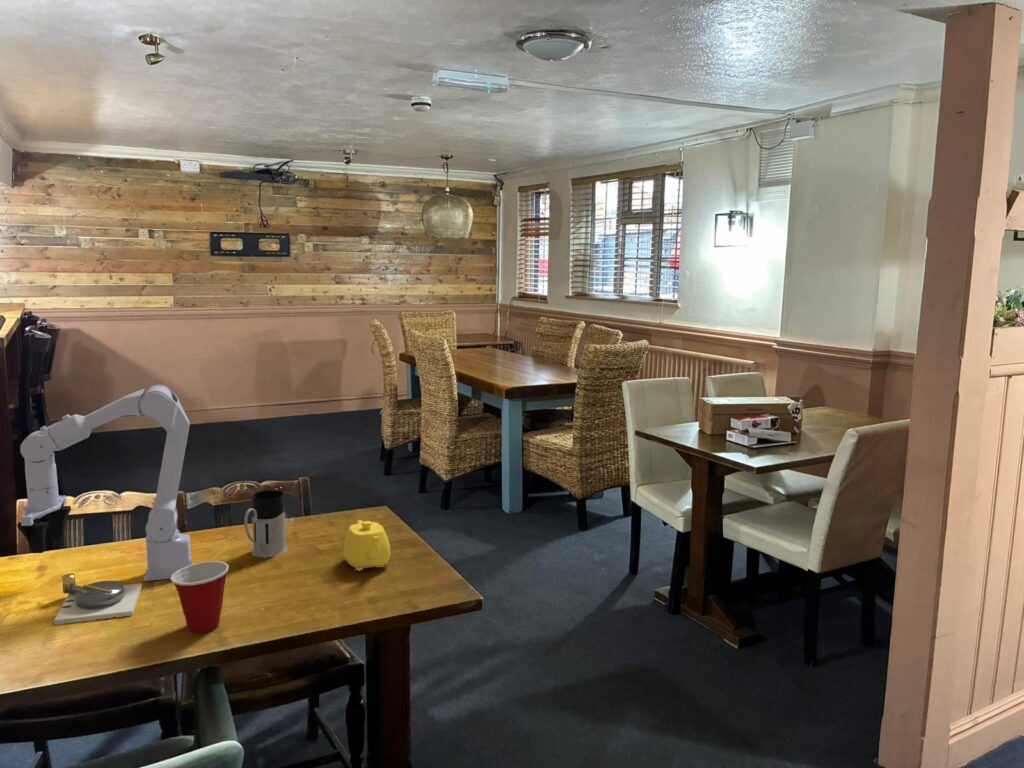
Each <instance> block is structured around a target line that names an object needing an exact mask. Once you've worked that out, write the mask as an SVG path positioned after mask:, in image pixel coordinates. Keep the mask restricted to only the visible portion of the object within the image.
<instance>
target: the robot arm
mask: <svg viewBox="0 0 1024 768" xmlns="http://www.w3.org/2000/svg"><path fill="white" fill-rule="evenodd" d="M181 404H182V403H181V402H180V400H179V397H178V395H176V393H175V392H174V391H172V390H171V389H170V388H169V387H168V386H167V385H163V384H154V385H153V384H152V385H151V386H149V387H148V388H147V389H146V388H143V389H139V390H137V391H135V392H134V391H133V392H132V393H130V394H126V395H125V396H122V397H121V398H118V399H117V400H114V401H113V402H111V403H109V404H106V405H105V406H102V407H101V408H99V409H97V410H95V411H93V412H91V413H89V414H87V415H80V414H76V413H75V414H73V415H70V414H69V413H68V414H65V415H63V416H62V417H61V419H62V420H60V421H59V420H58V422H56V423H53V424H50V425H49V426H46V425H43V426H42V427H41V426H40V428H39V430H36V431H34V432H31V433H30V434H29V435H28V436H26V438H25V439H24V440H23V441H22V443H21V444H20V451H19V452H20V454H21V456H22V457H23V458H24V473H25V481H26V482H25V483H26V493H27V494H26V495H27V503H28V504H27V505H25V506H22V507H23V511H24V513H23V515H22V516H20V522H18V523H17V524H16V525H17V529H18V530H19V532H21V533H22V535H23V536H24V537H25V539H26V541H27V543H28V545H29V547H30V550H31V552H32V554H43V553H44V552H45V548H46V534H47V529H48V533H49V537H50V539H51V541H61V540H63V537H64V532H65V527H66V524H67V523H66V522H67V520H68V516H69V514H70V513H71V511H72V506H71V505H66V504H67V495H60V494H59V484H58V473H57V464H56V461H55V452H57V451H62V450H65V449H67V448H69V447H70V446H72V445H75V444H77V443H79V442H81V441H83V440H86V439H88V438H89V437H90V435H91V434H92V433H91V432H92V430H93V429H95V428H98V427H99V426H102V425H104V424H106V423H109V422H111V421H113V420H116V419H119V418H121V417H123V416H126V415H130V416H131V415H132V416H135V417H136V416H137V417H140V416H141V414H142V413H143V415H144V416H146V417H148V418H150V419H151V420H154V421H155V422H157V423H158V424H159V425H160V426H161V427H162V428H163V429H164V430H165V431H166V438H165V444H164V449H163V456H162V462H161V465H160V471H159V472H160V473H159V477H158V482H157V483H158V484H157V490H156V495H155V501H154V505H153V507H152V508H151V510H150V511H149V513H148V519H147V523H146V524H145V534H146V535H145V544H146V545H145V548H146V562H147V563H146V564H147V565H146V566H147V570H146V572H145V575H144V579H143V581H144V582H147V581H148V582H150V581H160V580H167V579H168V580H171V579H170V578H171V576H172V574H173V573H175V572H176V571H177V570H179V569H181V568H184V567H186V566H189V565H192V564H193V557H192V552H191V551H192V550H191V549H192V548H191V546H192V545H191V537H190V534H182V533H181V532H180V530H178V528H177V521H178V519H179V518H178V516H179V513H178V510H177V508H176V505H177V499H178V494H179V488H180V483H181V482H180V481H181V476H182V470H183V464H184V460H185V456H186V455H185V453H186V447H187V443H188V438H189V437H188V436H189V431H190V425H191V423H190V420H189V418H188V416H187V413H186V412H185V410H184V409H183V408H184V407H183V406H182V405H181ZM42 517H44V519H45V521H42V520H40V519H41V518H42Z"/></svg>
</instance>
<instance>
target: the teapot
mask: <svg viewBox="0 0 1024 768" xmlns="http://www.w3.org/2000/svg"><path fill="white" fill-rule="evenodd" d="M343 542H344V543H343V551H342V553H343V557H344V559H345V561H346V562H347V563H348V565H350V566H351V567H353V568H354V569H355V568H364V569H367V568H376V566H380V565H384V566H385V565H386V564H387V563H388V562H389V560H390V558H391V545H390V541H389V538H388V535H387V532H386V531H385V528H384V526H382V525H381V524H380V523H378V522H375V521H370V520H365V521H363V520H362V519H359V520H357V521H356V523H353V524H351V525H350V526H349V527H348V529H347V533H346V535H345V539H344V541H343Z"/></svg>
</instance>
